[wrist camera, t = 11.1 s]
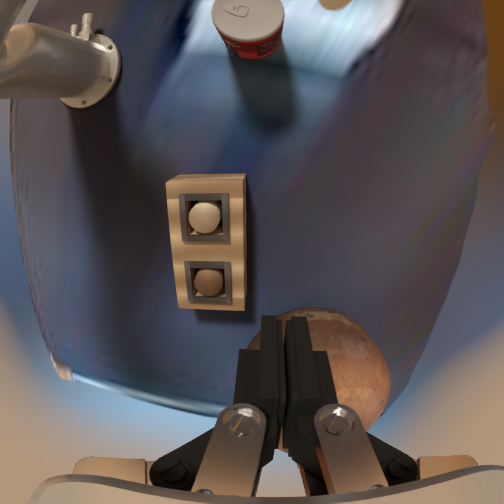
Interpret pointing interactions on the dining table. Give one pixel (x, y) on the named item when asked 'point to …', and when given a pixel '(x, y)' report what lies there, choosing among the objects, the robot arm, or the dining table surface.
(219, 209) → the maple peg
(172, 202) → the oak block
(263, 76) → the dining table surface
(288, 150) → the dining table surface
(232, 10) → the canned food
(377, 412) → the pottery
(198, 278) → the walnut peg
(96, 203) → the dining table surface
